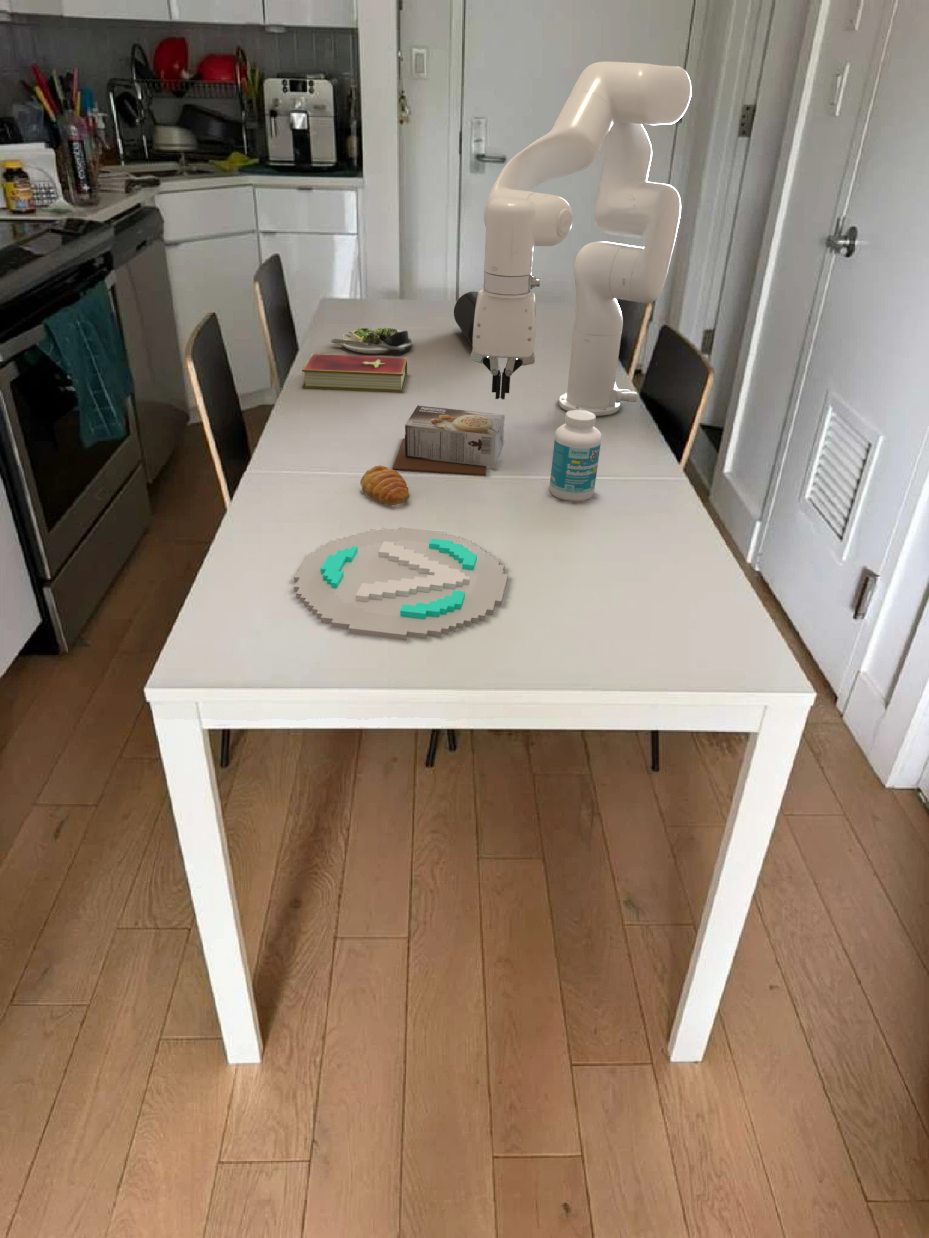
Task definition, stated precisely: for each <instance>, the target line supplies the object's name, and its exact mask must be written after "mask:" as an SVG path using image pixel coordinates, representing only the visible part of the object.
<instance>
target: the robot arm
mask: <svg viewBox="0 0 929 1238" xmlns="http://www.w3.org/2000/svg"><path fill="white" fill-rule="evenodd" d="M690 78H691V77H690V76H689V74H688V72H687V71H686V69H685V68H683V67H681V66H675V65H660V64H652V63H648V62H647V63H646V62H628V61H627V62H625V61H597V62H594V63H591V64H590V65H588V66H586V67H585V68H584V69H583V71H582V72H581V73H580V74H579V76H578V78H577V81H576V82H575V83H574V86H573V88H572V90H571V92H570V93H569V96H568V97H567V100H566V101H565V103H564V105H563V107H562V109H561V111H560V113H559V115H558V116H557V118H556V120H555V122H554V125H553V126H552V128H551V130H549V132H547V133H546V134H544V135H542V136H541V137H538V138H537V139H535V140H534V141H533V142H532V143H530V144H528V145H527V146H526V147H525V148H523V149H522V150H520V151H519V152H518V153H516V154H515V155H514V156H513V157H512V158H511V159H510V160H508V162H506V164H505V165H504V167H503V168H502V169H501V171H500V173H499V174H498V176H497V179H496V181H495V182H494V184H493V186H492V188H491V190H490V192H489V195H488V197H487V199H486V202H485V207H484V211H483V213H484V214H483V221H484V225H485V244H484V245H485V246H484V266H483V270H484V271H483V285H482V286H483V287H482V288H480V289H479V290H478V292H479V293H478V297H477V302H476V308H475V317H474V328H473V346H472V350H471V353H470V358H469V359H470V360H471V361H472V362H476V363H478V364H483V365H484V366H485V368H486V369H487V370H488V371H489V372H490V374H491V376H492V380H491V393H495V397H494V398H495V399H494V400H499V399H501V400H505V399H506V394H510V389H511V376H512V375H513V374H514V373H515V372H516V371H517V370H518V369H519V368H521V367H522V366H524V367H525V366H529V365H533V364H534V363H535V362H536V360H535V359H536V358H535V351H534V350H535V343H536V342H535V341H536V321H537V320H536V319H537V309H536V306H537V305H536V295H535V292H533V291H531V290H533V288H541V287H540V286H541V277H536V276H534V275H533V274H532V271H533V259H534V248H535V247H553V246H556V245H559V244H560V243H562V242H563V241H564V240H565V239H566V238H567V237H568V235H569V234H570V232H571V230H572V226H573V222H574V215H573V210H572V207H571V205H570V204H569V202H568V201H567V200H566V199H565V198H563V197H561V196H559V195H556V194H552V193H551V194H550V193H542V192H537V191H532V190H534V189H535V188H536V187H538V186H540V185H542V184H544V183H547V182H550V181H552V180H555V179H559V178H564V177H566V176H571V175H572V174H575V173H578V172H581V171H583V170H585V169H587V168H589V167H590V166H591V165H593V164H594V162H595V160H596V159H597V157H598V155H599V152H600V151H601V149H602V147H603V145H604V146H605V147H604V149H605V150H604V157H603V162H602V168H601V173H600V179H599V182H598V188H597V193H596V198H595V203H594V212H593V222H594V226H595V227H596V229H598V230H599V231H600V232H602V233H605V234H607V235H613V236H618V237H619V236H620V237H626V238H632V239H638V240H643V246H637V245H629V244H625V243H617V242H611V241H592V242H589V243H587V244H585V245H584V246H582V247H581V248H580V249H579V251H578V252H577V255H576V257H575V261H574V267H573V268H574V269H573V273H574V275H573V276H574V287H575V306H574V307H575V310H574V320H573V321H574V323H573V330H572V331H573V332H572V340H571V350H570V358H569V359H570V360H569V361H570V362H569V371H568V380H567V390H566V392H565V393H563V394H561V395H560V396H559V397H558V405H559V407H560V408H561V409H562V410H564V411H566V412H568V411H571V410H584V411H588V412H591V413H593V414H594V415H595V416H596V417H602V416H609V415H613V414H616V413H617V412H618V411H619V410H620V409H621V408H620V407H621V402H630V403H637V398H638V392H636V391H631V390H630V389H625V388H624V389H620V388H619V387H617V383H616V379H617V371H618V363H619V356H620V349H621V340H622V334H623V327H624V318H623V313H622V310H621V309H622V308H621V307H620V305H619V303H618V300H622V301H627V302H635V303H639V304H650V303H653V302H656V300H658V298H659V297H661V294H662V292H663V290H664V287H665V284H666V281H667V278H668V277H667V276H668V273H669V268H670V264H671V260H672V255H673V252H674V247H675V243H676V240H677V239H676V238H677V234H678V229H679V225H680V219H681V213H682V201H681V196H680V194H679V191H678V190H677V189H676V188H675V187H674V186H673V185H671V184H668V183H662V182H652V181H648V178H649V172H650V167H651V162H652V158H653V148H652V143H651V141H650V140H651V139H650V137H649V135H648V133H647V131H646V129H645V127H644V125H650V126H661V125H664V126H665V125H674V124H676V123H677V122H678V121H680V119H682V117H683V116H684V115H685V113H686V111H687V110H688V107H689V105H690V101H691V98H692V82H691V79H690ZM499 358H505V359H506V363H505V367H504V368H503V371H502V372H501V367H499Z"/></svg>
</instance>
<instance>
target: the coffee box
mask: <svg viewBox="0 0 929 1238" xmlns="http://www.w3.org/2000/svg"><path fill="white" fill-rule="evenodd" d="M505 419H506V418H505V414H502V413H492V412H484V411H473V410H464V409H456V408H447V407H445V408H444V407H435V406H426V405H419V404H417V406H416V407H415V409H414V410H413V412H412V414H411V415H410V416H409V418H408V420H407V421H406V423H405V424H404V430H405V432H404V439H405V457H410V458H419V459H427V460H435V461H444V462H452V463H461V464H470V465H478V466H486V467H488V468H495V466H496V463H497V460H498V458H499V457H500V454H501V451H502V449H503V447H504V437H505V436H504V435H505V434H504V432H505Z"/></svg>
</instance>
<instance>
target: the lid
mask: <svg viewBox="0 0 929 1238" xmlns="http://www.w3.org/2000/svg"><path fill="white" fill-rule="evenodd" d="M504 572H505V564H501V558H496V555H491V552H489V551H487V549H486V548H482V546H481V545H477V542H473V539H467V538H463V536H462V535H453V534H448V532H447V531H441V530H440V531H439V530H430V529H422V528H412V527H402V526H399V527H398V529H397V528H389V527H382V528H381V529H376V528H375V529H373V528H370V529H369V530H364V531H363V532H356V534H350V535H349V536H343V537H342V538H336V539H335V540H332V539H331V540H329V541H328V543H327V544H320V546H319V548H318V549H317V550H316V552H314V551H310V552H309V554H308V555H307V556H306V558H305V560H304V561H303V563H302V564H301V566H300V567H299V569H298V570H297V572H296V573H295V575H294V576H293V580H294V583H295V584H294V586H293V589H294V593H295V598H296V600H299V601H300V603H301V604H303V605H304V607H305V608H306V607H307V609H308V612H309V611H311V612H312V615H314V616H316V619H317V620H318V619H319V620H320V623H321V624H330V625H331V628H332V629H340V630H348V634H352V635H358V636H367V637H374V638H375V637H376V638H383V639H392V640H397V641H399V640H400V641H407V639H408V638H414V639H422V640H427V638H428V636H429V637H436V638H441V636H442V635H449V632H457V629H459V630H463V629H464V627H471V624H476V625H477V624H478V622H479V621H481V622H485V620H486V617H487V615H488V616H493V614H494V611H495V607H502V604H503V601H504V596H505V592H506V588H507V584H508V579H509V574H508V573H504Z"/></svg>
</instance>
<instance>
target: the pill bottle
mask: <svg viewBox="0 0 929 1238" xmlns="http://www.w3.org/2000/svg"><path fill="white" fill-rule="evenodd" d="M596 417H597V416H595V415H594V414H593V413H591V412H588V411H584V410H571V411H566V413H565V418H564V422H565V423H564V424H562V425H560V426H559V427H558V428H557V429H556V430H555V433H554V441H553V451H552V459H551V469H550V478H549V492H550V493H551V494H552V496H554V497H556V498H558V499H560V500H563V501H568V502H582V501H587V500H588V499H590V498H591V497H593V495H594V494H595V489H596V483H597V482H596V481H597V475H598V467H599V461H600V460H599V459H600V452H601V444H602V434H601V431H600V430H599V429H598V428H597V427H595V424H596Z"/></svg>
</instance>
